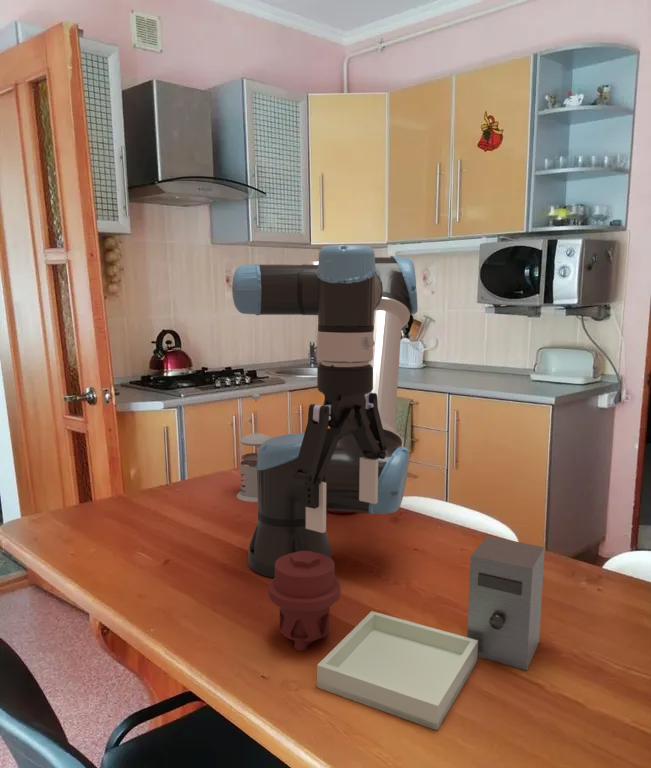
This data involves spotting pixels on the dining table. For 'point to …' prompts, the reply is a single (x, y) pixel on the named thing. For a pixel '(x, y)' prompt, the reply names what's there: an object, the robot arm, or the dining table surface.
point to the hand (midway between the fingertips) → (343, 515)
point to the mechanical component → (304, 595)
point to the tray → (399, 668)
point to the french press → (250, 464)
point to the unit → (506, 600)
